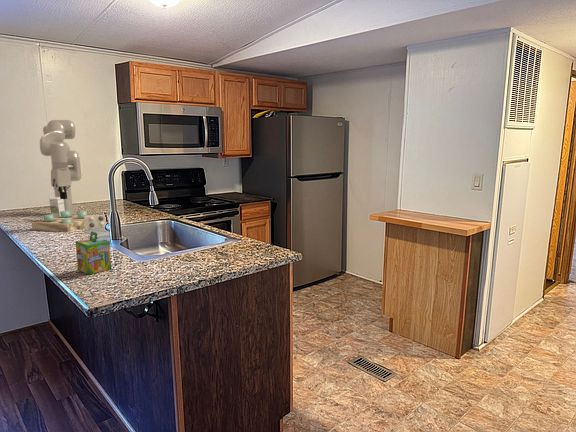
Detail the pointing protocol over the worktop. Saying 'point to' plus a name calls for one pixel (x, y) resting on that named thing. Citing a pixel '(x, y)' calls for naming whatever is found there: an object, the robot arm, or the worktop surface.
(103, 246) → the chalk box
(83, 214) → the button
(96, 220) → the plaque
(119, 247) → the worktop surface
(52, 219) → the button
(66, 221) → the button
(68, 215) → the button
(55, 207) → the syrup box
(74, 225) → the board
